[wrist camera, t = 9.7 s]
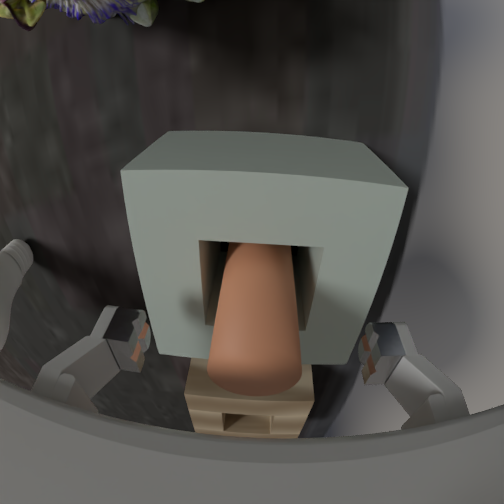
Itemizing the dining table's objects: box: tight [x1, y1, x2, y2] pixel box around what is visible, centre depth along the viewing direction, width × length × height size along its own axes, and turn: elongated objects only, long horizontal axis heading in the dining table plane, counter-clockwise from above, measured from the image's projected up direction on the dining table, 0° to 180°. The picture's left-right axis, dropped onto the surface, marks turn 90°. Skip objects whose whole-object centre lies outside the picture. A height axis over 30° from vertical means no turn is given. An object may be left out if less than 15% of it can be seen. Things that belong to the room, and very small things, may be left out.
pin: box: [207, 242, 302, 396], centre depth 13 cm, size 3×3×10 cm
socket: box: [121, 131, 408, 364], centre depth 15 cm, size 10×10×6 cm
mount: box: [184, 358, 314, 438], centre depth 26 cm, size 10×10×4 cm
